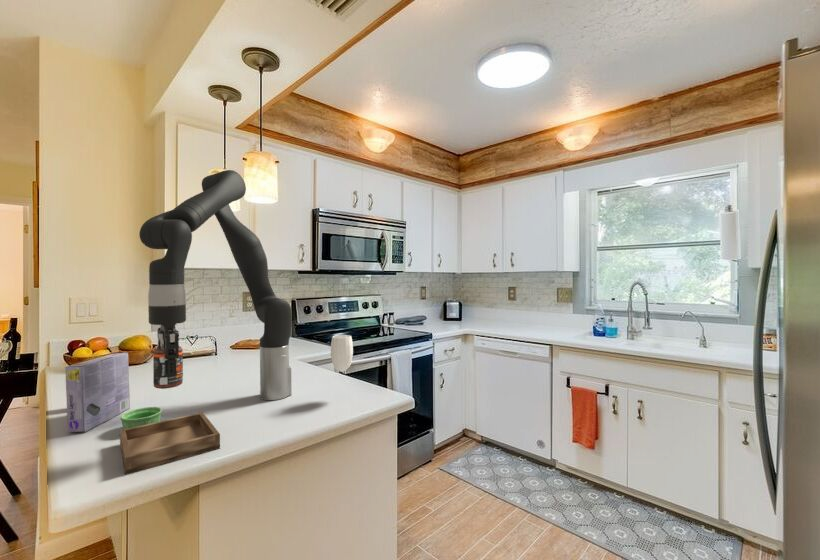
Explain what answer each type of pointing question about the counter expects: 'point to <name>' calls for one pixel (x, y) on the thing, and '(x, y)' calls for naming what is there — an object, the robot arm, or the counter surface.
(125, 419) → the ramekin
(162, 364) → the supplement bottle
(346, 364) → the cup
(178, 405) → the counter surface
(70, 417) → the cake pan box
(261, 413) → the counter surface
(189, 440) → the walnut tray
